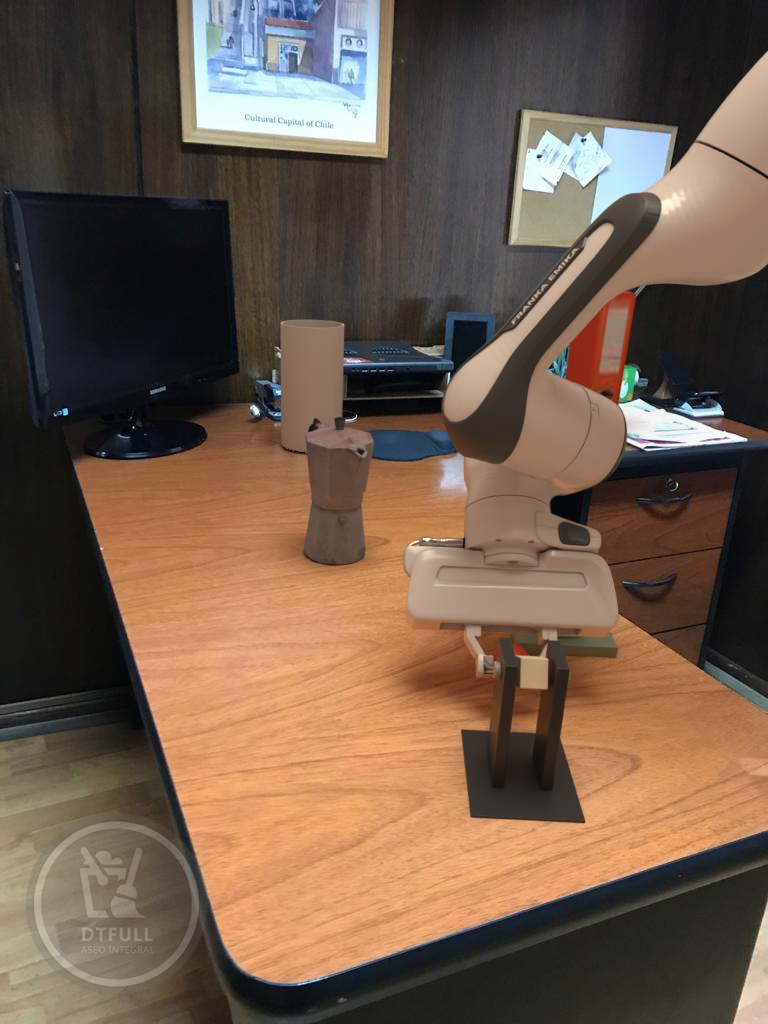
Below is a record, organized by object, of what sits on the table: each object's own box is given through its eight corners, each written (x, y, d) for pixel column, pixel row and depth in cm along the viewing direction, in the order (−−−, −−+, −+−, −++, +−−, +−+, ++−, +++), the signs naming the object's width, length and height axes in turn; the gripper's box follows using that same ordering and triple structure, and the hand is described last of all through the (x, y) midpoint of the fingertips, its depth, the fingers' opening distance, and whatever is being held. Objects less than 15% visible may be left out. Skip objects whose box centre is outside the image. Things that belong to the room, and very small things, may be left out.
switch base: (460, 739, 71) (471, 616, 67) (557, 744, 71) (575, 621, 67) (469, 827, 61) (483, 688, 56) (583, 833, 61) (606, 695, 56)
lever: (488, 680, 74) (489, 641, 74) (526, 681, 74) (527, 643, 74) (510, 695, 61) (512, 649, 61) (556, 698, 61) (557, 651, 61)
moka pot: (333, 579, 102) (335, 432, 95) (276, 540, 113) (275, 406, 106) (391, 564, 107) (397, 423, 100) (331, 528, 119) (333, 399, 112)
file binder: (590, 416, 198) (609, 286, 186) (615, 433, 182) (636, 292, 170) (560, 415, 197) (576, 285, 186) (581, 433, 181) (600, 291, 170)
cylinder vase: (269, 443, 161) (268, 321, 153) (318, 435, 169) (319, 318, 160) (303, 458, 153) (304, 329, 144) (353, 448, 160) (357, 326, 152)
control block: (594, 621, 94) (599, 591, 93) (615, 665, 85) (620, 633, 83) (504, 616, 94) (507, 587, 93) (515, 660, 85) (518, 628, 83)
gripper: (405, 523, 75) (400, 664, 69) (616, 532, 75) (630, 674, 69) (403, 547, 81) (398, 680, 75) (599, 556, 80) (610, 689, 75)
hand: (511, 677), depth 72 cm, fingers closed on lever, 3 cm apart
